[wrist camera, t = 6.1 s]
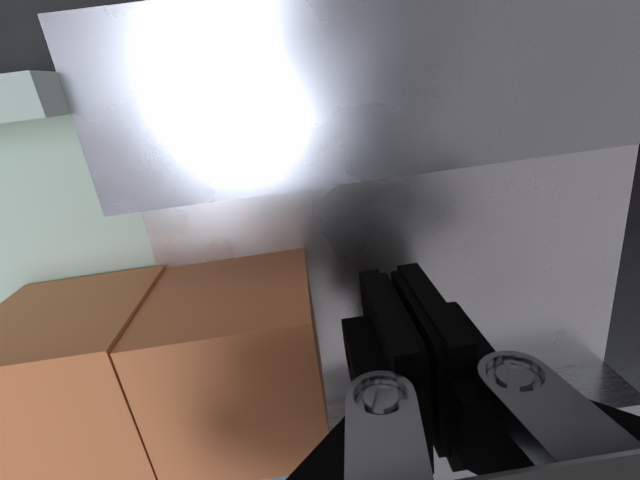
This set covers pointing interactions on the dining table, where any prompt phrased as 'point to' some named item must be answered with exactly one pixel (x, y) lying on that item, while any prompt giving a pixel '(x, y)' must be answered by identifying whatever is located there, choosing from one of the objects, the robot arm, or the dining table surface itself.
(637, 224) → the dining table surface
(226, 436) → the chip
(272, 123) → the slotted block
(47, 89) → the tray
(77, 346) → the chip
